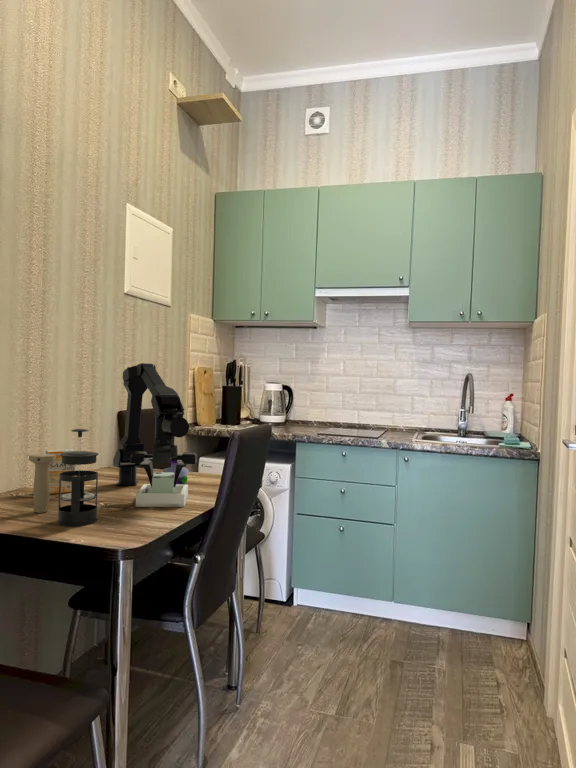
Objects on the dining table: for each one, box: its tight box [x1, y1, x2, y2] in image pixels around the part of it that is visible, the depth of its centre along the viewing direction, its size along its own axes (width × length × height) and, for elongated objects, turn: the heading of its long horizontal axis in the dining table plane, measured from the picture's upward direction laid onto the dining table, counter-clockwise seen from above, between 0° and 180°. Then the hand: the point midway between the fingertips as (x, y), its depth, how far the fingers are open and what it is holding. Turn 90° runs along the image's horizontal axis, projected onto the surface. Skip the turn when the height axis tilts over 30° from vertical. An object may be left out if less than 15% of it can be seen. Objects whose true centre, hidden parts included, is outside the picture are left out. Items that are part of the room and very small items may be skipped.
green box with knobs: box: [152, 471, 174, 493], centre depth 162 cm, size 10×6×5 cm, turn 10°
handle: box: [28, 453, 56, 514], centre depth 145 cm, size 5×6×15 cm
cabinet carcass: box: [135, 483, 189, 508], centre depth 162 cm, size 14×13×4 cm
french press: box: [56, 428, 99, 527], centre depth 137 cm, size 12×9×23 cm
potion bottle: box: [162, 453, 190, 485], centre depth 178 cm, size 9×9×12 cm
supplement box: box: [45, 449, 76, 495], centre depth 171 cm, size 8×5×13 cm, turn 123°
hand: (163, 487), depth 163 cm, fingers closed on green box with knobs, 6 cm apart
